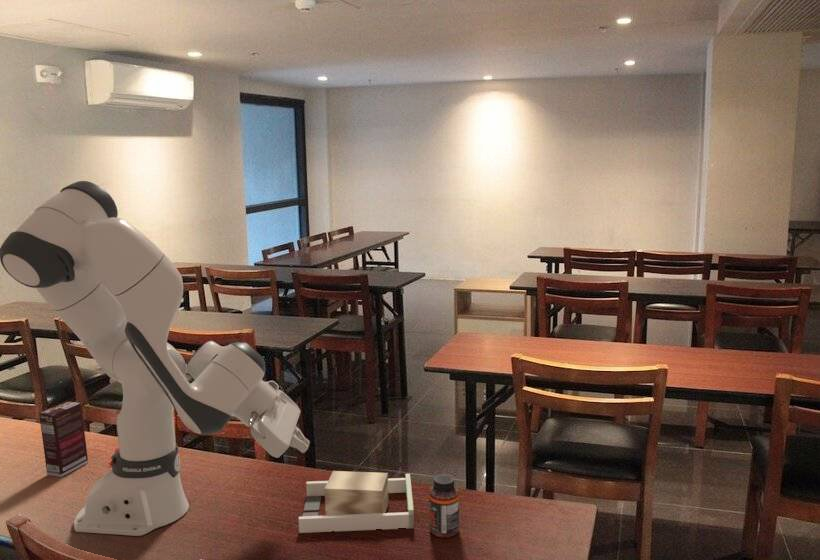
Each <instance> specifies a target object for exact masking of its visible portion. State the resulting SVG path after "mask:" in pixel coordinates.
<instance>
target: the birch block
mask: <svg viewBox="0 0 820 560" xmlns="http://www.w3.org/2000/svg"><path fill="white" fill-rule="evenodd" d="M388 478H389V472H375V471H374V472H373V471H372V472H371V471H370V472H369V471H349V470H348V471H344V470H343V471H342V470H332V473H331V475H330V477H329V479H328V480H327V481H328V483H327V485H326V487H325V496H324V504H325V505H324V506H325V507H324V508H325V515H349V514H374V513H385V512H386V513H387V509H388V506H389V503H388V502H389V493H388Z"/></svg>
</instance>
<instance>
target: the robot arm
mask: <svg viewBox="0 0 820 560" xmlns="http://www.w3.org/2000/svg"><path fill="white" fill-rule="evenodd" d="M118 212H119V211H118V207H117V205H116V203H115V200H114V199H113V197H112V196H111V195H110V193H108V191H107V190H105V188H103V187H101V186H100V185H99V184H96V183H93V182H91V181H88V180H80V181H76V182H73V183H71V184H69V185H67V186H65V187H63V188H62V189H61V190H60V191H59V192H58V193H56V194H55V195H53V196H52V197H51V198H49V199H48V200H46V201H45V202H44V203H42V204H41V205H39V206H38V207H37V208H36V209H35V210H34V211H33V213H32V214H31V215H29V216H28V217H27V218H26V219H25V220H24V221H23V222H22V224H21V225H20V226H19V227H18V228H17V229H16V230H15V231H13V232H11V233H9V234H8V236H7V237H6V239H5V240H4V241H3V243H2V244H1V246H0V264H1V265H2V267H3V269H4V270H5V272H7V274H8V275H9V276H10V277H11V278H12V279H14V281H16V282H18V283H20V284H21V285H23V286H26V287H28V288H33V289H34V288H35V289H36V291H37V292H38V293H39V295H40V296H41V297H42V299H43V300H44V301H45V302H46V303H47V305H49V306H50V308H51V309H52V310H53V311H54V312H55V313H56V315H57V316H58V317H59V318H60V319H61V320H62V321H63V322H64V323H65V325H66V326H67V327H68V328H69V329H70V330H71V331H72V332H73V333H74V334H75V335H76V336H77V338H78V339H79V340H80V341H81V343H82V344H83V345H84V347H85V349H86V350H87V351H88V352H89V354H90V355H91V357H92V358H93V359H94V361H95V362H96V363H97V365H99V367H100V368H101V369H102V371H103V372H104V373H105V374H106V375H107V376H108V377H109V378H110V379H113V380H114V381H116V382H118V383H120V385H121V387H122V391H123V392H122V396H123V397H122V404H121V410H120V412H119V413H118V415H117V417H116V421H115V424H116V432H117V440H118V447H117V448H116V449H115V451H114V453H113V454H112V456H111V457H110V460H109V461H108V463H107V465H108V467H107V468H108V469H110V468H112V469H111V470H110V471H109V472H107V473H106V474H105V475H104V476H103V477H101V478H100V479H99V480H98V481H97V482H95V484H94V485H93V486H92V487H91V488H90V490H89V491H88V493H87V496H86V497H85V498H86V499H85V503H84V506H83V507H82V508H81V509H80V510H79V511H78V513H77V514H76V516H75V518H74V521H73V529H74V531H75V532H77V533H88V534H89V533H90V534H105V535H119V536H120V535H121V536H135V537H140V536H144V535H146V534H148V533H150V532H152V531H153V530H155V529H158V528H161V527H164V526H167V525H169V524H171V523H173V522H175V521H177V520H179V519H180V518H182V517H183V516H184V515H186V513H187V512H188V511H189V507H190V504H189V501H188V499H187V497H186V494H185V492H184V488H183V485H182V481H181V475H180V470H181V459H180V457H181V456H180V453H179V445H178V443H177V442H176V435H175V434H176V433H175V432H176V431H175V420H174V419H175V418H174V417H175V416H174V413H175V412H174V410H175V411H176V412H177V415H178V417H179V419H180V421H181V422H182V423H183V424H184V426H186V427H187V428H188V429H189V430H191V431H192V432H193V433H196V434H197V435H200V436H208V435H213V434H217V433H220V432H222V431H223V430H224V429H225V427H226V425H227V424H228V423H229V421H230V420H231V418H232V416H234V417H236V418H237V419H238V420H240V422H242V423H243V424H244V425H245V426H246V427H250V435H251V437H252V438H254V440H255V441H256V442H257V443H258V445H260V447H262V448H263V449H264V450H265V452H267V453H268V454H269V455H270V456H272V457H273V458H277V459H278V458H280V457H281V456H282V455H283V454H284V453H285V452H286V451H287V450H288V449H289V448H290V447H291V448H294V449H297V450H298V451H299V452H301V454H304V453H306V452H307V450H309V447H310V442H311V441H310V440H309V439H308V438H306V437H305V435H304V434H303V432H302V431H301V429H300V428H299V427H298V426H297V424H298V420H299V418H300V415H301V408H299V406H298V404H297V403H296V402H295V401H293V399H291V397H290V396H289V395H287V394H286V393H285V392H284V391H283V390H281V389H279V388H280V386H279V384H278V383H277V382H276V381H274V380H269V381H264V380H263V378H264V376H265V374H266V362H265V358H264V357H263V356H262V355H261V353H259V352H258V351H256V350H255V349H254V348H253V347H252V346H250V344H249V343H247V342H238V341H237V342H233V343H232V342H231V343H229V344H228V345H225V346H222V345H220V344H219V343H216V342H215V341H214V340H209V341H206V342H205V343H203V344H202V345H200V346H199V347H198V348H197V350H195V351H194V353H193V354H192V355H191V357H190V358H189V360H188V361H187V364H186V361H185V359H184V357H183V356H182V354H181V353H180V352H179V351H178V350H177V349H176V348H175V347H174V346H173V345H172V344H170V343H169V342H168V337H169V333H170V330H171V326H172V324H173V322H174V320H175V317H177V316H176V315H177V313H178V311H179V309H180V308H181V307H180V306H181V304H182V302H183V301H182V300H183V297H184V282H183V277H182V274H181V273H180V271H179V270H178V268H177V267H176V266H175V265H174V263H173V262H172V261H171V260H170V258H168V256H167V255H166V254H165V253H164V252H163V251H162V250H161V249H160V248H159V247H158V246H157V245H156V244H155V243H154V242H152V240H150V239H149V238H148V237H147V236H146V235H145V234H144V233H142V232H141V231H140V230H138V229H137V228H136V227H135V226H133V225H132V224H131V223H129V222H128V221H126V219H123V218H120V217H118V214H119V213H118ZM187 372H188V374H189V375H190V376H191V377H192V378H193V379H194V380H193V381H192V382H191V383H190V382H189V381H188V379H187V377H186V373H187Z"/></svg>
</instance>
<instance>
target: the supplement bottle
mask: <svg viewBox="0 0 820 560" xmlns="http://www.w3.org/2000/svg"><path fill="white" fill-rule="evenodd" d="M428 499H429V500H428V505H429V507H428V511H429V515H428V517H429V521H428V522H429V531H430V533H431V534H432V535H434V536H436V537H439V538H443V539H444V538H445V539H446V538H451V537H454V536H456V535H457V534H458V533H459V531H460V491H459V489H458V487H457V486H455V478H454V477H453V476H452V475H450V474H446V473H445V474H444V473H443V474H442V473H441V474H438V475H435V476H434V477H433V486H431V487H430V488H429V492H428Z"/></svg>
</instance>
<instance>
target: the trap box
mask: <svg viewBox="0 0 820 560" xmlns="http://www.w3.org/2000/svg"><path fill="white" fill-rule="evenodd" d="M328 481H329V480H314V481H306V482H305V483H306V485H305V486H306V487H305V488H306V497H305V502H304V508H303V513H302V516H298V533H299V534H305V533H306V534H307V533H310V534H311V533H327V532H328V533H329V532H330V533H331V532H332V531H334V532H352V531H353V532H355V531H356V532H357V531H377V530H376V529H382V530H399V529H398V528H406V529H414V528H415V515H414V512H415V511H414V509H415V508H414V500H413V493H412V492H413V491H412V490H413V489H412V480H411V473H405V477H395V478H394V477H393V478H392V477H391V478H389V477H388V494H395V493H396V494H399V493H401V494H402V493H405V498H407V499H406V507H407V509H406V511H405V512H404V511H403V512H402V511H401V512H386V513H374V514H349V515H326V514H324V515H319V512H318V511H320V506H321V501H322V496H323V497H325V487H326V485H327V483H328ZM407 510H408V511H407Z"/></svg>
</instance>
